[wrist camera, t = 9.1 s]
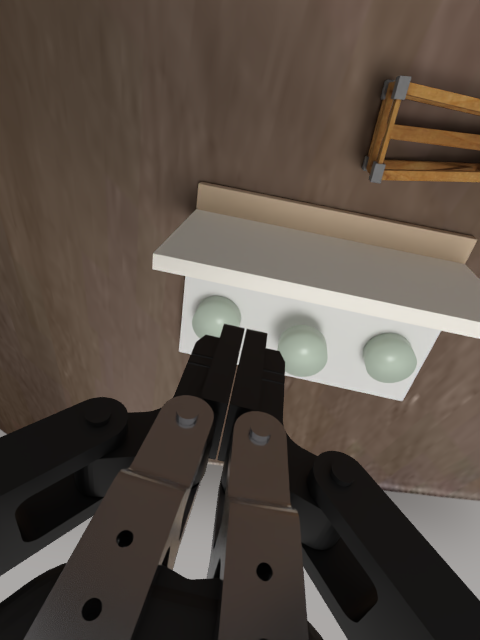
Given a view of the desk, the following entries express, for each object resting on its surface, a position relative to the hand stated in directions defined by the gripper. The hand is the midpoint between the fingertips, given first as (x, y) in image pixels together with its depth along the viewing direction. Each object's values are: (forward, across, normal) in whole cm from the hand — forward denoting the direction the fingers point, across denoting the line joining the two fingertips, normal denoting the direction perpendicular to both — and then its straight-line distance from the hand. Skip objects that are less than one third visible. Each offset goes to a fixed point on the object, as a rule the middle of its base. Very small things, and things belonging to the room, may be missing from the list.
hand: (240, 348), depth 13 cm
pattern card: (+26, -6, +4) cm, 27 cm away
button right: (+22, -15, +13) cm, 30 cm away
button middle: (+20, -6, +13) cm, 25 cm away
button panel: (+26, -6, +14) cm, 29 cm away
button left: (+23, +3, +14) cm, 26 cm away
